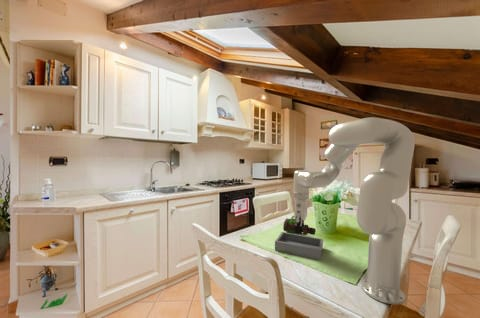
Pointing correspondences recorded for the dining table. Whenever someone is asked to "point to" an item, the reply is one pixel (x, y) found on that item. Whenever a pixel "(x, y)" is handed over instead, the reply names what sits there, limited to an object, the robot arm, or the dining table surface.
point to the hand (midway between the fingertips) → (299, 231)
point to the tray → (299, 245)
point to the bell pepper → (292, 223)
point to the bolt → (305, 228)
